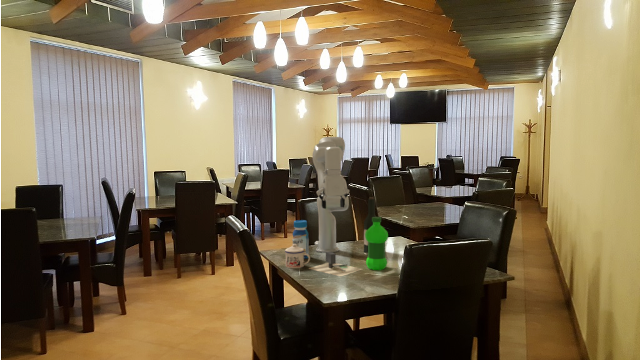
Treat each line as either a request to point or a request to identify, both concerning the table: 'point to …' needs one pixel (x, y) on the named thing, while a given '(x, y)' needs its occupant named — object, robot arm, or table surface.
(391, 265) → the table surface
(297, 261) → the teacup with lid
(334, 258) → the sledge mallet
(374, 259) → the plastic bottle
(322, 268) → the board
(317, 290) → the table surface
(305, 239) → the beverage bottle
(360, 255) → the table surface
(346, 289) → the table surface
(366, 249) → the wine bottle
